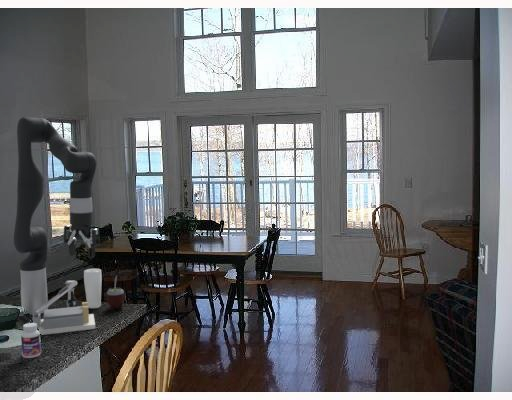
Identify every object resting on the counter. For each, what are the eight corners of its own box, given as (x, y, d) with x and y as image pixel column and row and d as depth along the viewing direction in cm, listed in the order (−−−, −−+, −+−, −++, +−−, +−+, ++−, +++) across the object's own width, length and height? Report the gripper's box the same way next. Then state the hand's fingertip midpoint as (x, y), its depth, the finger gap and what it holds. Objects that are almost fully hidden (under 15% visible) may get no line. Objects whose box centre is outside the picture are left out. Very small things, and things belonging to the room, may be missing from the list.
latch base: (28, 336, 186) (27, 315, 185) (30, 324, 198) (29, 305, 198) (95, 328, 193) (94, 308, 193) (93, 317, 206) (92, 299, 205)
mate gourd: (114, 305, 221) (113, 269, 219) (130, 307, 217) (129, 271, 216) (102, 310, 214) (100, 273, 212) (118, 313, 211) (117, 275, 209)
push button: (73, 308, 217) (72, 284, 216) (60, 308, 217) (59, 283, 216) (80, 303, 224) (79, 279, 223) (67, 303, 224) (66, 279, 223)
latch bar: (35, 317, 191) (32, 313, 190) (36, 314, 194) (33, 310, 194) (77, 285, 194) (74, 281, 194) (77, 282, 198) (74, 278, 198)
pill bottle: (22, 359, 166) (20, 328, 165) (22, 353, 171) (20, 323, 170) (41, 356, 168) (39, 326, 167) (40, 350, 173) (39, 321, 172)
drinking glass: (87, 310, 214) (85, 273, 213) (83, 305, 220) (82, 269, 219) (104, 307, 218) (103, 271, 216) (100, 303, 224) (99, 267, 222)
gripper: (104, 210, 188) (105, 257, 190) (73, 207, 194) (74, 252, 196) (89, 213, 181) (90, 261, 183) (57, 210, 187) (58, 256, 189)
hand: (81, 256), depth 190 cm, fingers open, 8 cm apart
